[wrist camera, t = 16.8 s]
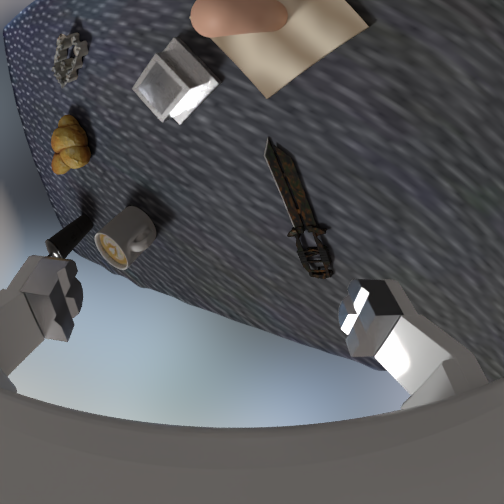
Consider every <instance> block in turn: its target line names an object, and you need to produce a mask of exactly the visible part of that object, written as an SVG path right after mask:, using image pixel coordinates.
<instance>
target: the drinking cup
mask: <svg viewBox="0 0 504 504" xmlns="http://www.w3.org/2000/svg"><path fill="white" fill-rule="evenodd" d="M92 227H93V225H92V222H91V221H90V219H89V218H88V217H87V216H86V215H82V216H80V217H79V218H77V219H76V220H74V221H73V222H72V223H70V224H69V225H67V226H66V227H65V228H63V229H62V230H60V231H59V232H58V233H56V234H55V235H54V236H52V237H51V238H50V239H47V240H46V241H45V243H46V247H47V250H48V252H49V255H48V256H47V257H51V256H52V257H54V258H62V259H65V258H66V257H67V255H68V254H69V253H70V252H71V251H72V250H73V249H74V247H75V246H76V245H77V244H78V243H79V242H80V241H81V240H82V238H83V237H84V236H85V235H86V234H87V233H88V232H89V231H90V230H91V229H92Z"/></svg>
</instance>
